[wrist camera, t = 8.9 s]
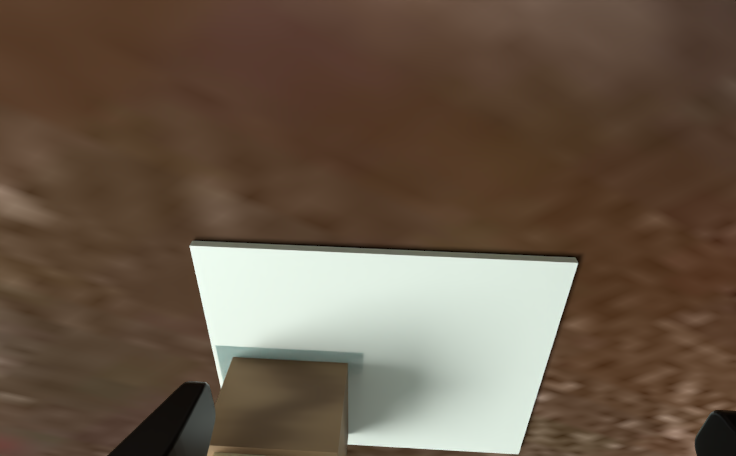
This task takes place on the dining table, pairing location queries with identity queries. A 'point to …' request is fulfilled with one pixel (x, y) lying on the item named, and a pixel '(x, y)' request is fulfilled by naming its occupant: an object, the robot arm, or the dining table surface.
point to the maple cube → (230, 455)
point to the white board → (396, 332)
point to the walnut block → (282, 408)
